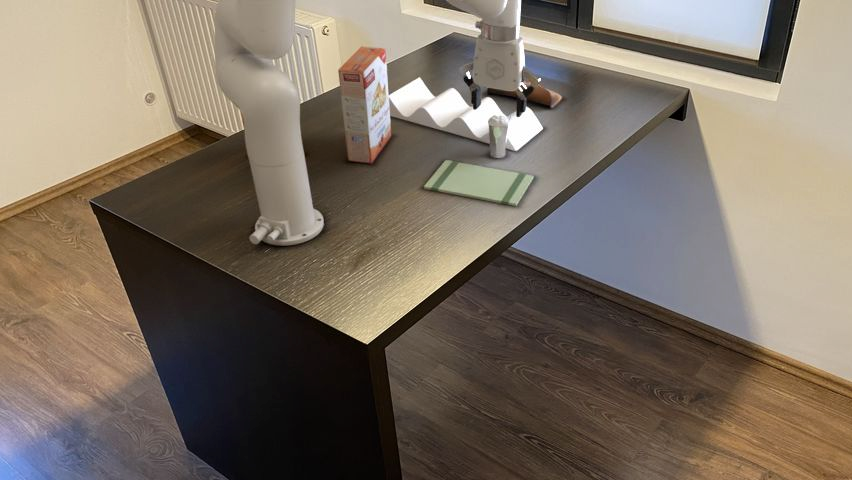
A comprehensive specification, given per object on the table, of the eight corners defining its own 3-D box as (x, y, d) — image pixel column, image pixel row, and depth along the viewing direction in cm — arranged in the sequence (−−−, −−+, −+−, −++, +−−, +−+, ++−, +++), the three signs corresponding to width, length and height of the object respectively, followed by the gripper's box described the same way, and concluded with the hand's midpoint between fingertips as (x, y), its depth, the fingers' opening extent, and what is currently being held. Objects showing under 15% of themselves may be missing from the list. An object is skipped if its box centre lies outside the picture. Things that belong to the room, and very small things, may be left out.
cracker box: (373, 165, 161) (364, 71, 149) (347, 162, 162) (335, 69, 149) (393, 136, 172) (386, 47, 159) (368, 133, 173) (359, 44, 160)
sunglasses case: (564, 95, 190) (560, 78, 184) (553, 117, 188) (549, 101, 182) (501, 81, 197) (495, 65, 191) (490, 103, 195) (484, 86, 189)
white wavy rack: (516, 151, 167) (516, 130, 164) (389, 115, 181) (388, 95, 178) (543, 128, 176) (544, 108, 173) (420, 96, 190) (419, 77, 187)
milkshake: (504, 162, 163) (505, 120, 157) (483, 156, 165) (483, 114, 159) (515, 154, 166) (516, 112, 160) (494, 148, 168) (495, 106, 162)
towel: (516, 206, 149) (516, 203, 148) (423, 188, 154) (423, 186, 153) (533, 177, 158) (533, 175, 157) (445, 162, 163) (445, 159, 162)
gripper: (453, 30, 148) (453, 111, 158) (537, 42, 144) (532, 124, 154) (466, 19, 153) (466, 98, 164) (547, 30, 149) (542, 110, 160)
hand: (498, 110), depth 159 cm, fingers open, 9 cm apart
